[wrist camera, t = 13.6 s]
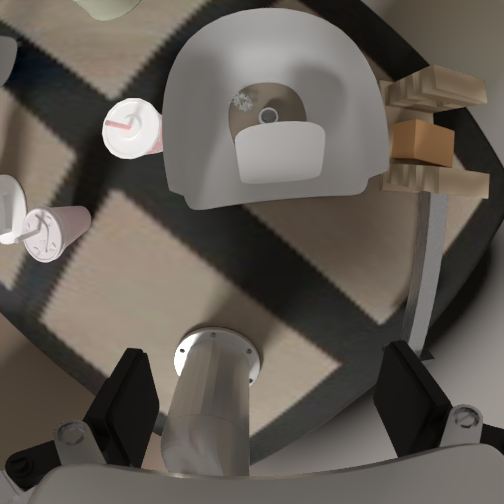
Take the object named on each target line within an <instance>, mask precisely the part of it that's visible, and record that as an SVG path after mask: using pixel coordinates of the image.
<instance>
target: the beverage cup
mask: <svg viewBox="0 0 504 504" xmlns="http://www.w3.org/2000/svg"><path fill="white" fill-rule="evenodd" d="M102 135H103V139H104V143H105V145H106V147H107V148H108V150H109V151H110V152H111V153H112V154H114V155H116V156H117V157H119V158H127V159H133V158H137V157H139V156H142V155H145V154H153V153H158V152H161V151H163V143H162V115H160V114H159V113H158V112H157V111H156V109H155V108H154V107H153V106H152V105H151V104H150V103H148V102H146V101H144V100H142V99H140V98H129V99H126V100H124V101H121V102H119V103H117V104H116V105H115V106H114V107H113V108H112V109H111V110H110V111H109V113H108V115H107V116H106V118H105V120H104V124H103V131H102Z"/></svg>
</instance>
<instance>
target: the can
mask: <svg viewBox="0 0 504 504" xmlns="http://www.w3.org/2000/svg"><path fill="white" fill-rule="evenodd" d="M74 1H75V2H77V3H78V4H79V5H80V6H81V7H83V8H84V9H85V10H86V11H87V12H89V14H90V15H91V16H92V17H93V18H95V19H97V20H102V21H107V20H112V19H116V18H118V17H121V16H123V15H125V14H126V13H128V12H129V11H131V10H132V9H133V8H134V7H135V6H136V5H137V4H138V3H139V2H140V1H141V0H74Z"/></svg>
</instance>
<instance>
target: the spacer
mask: <svg viewBox="0 0 504 504" xmlns="http://www.w3.org/2000/svg"><path fill="white" fill-rule="evenodd" d="M453 149H454V131H453V130H450V129H447V128H444V127H441V126H437V125H434V124H431V123H428V122H425V121H421V120H418V119H414V120H409V121H404V122H399V123H395V124H394V129H393V143H392V155H391V158H395V159H404V160H418V161H420V164H422V165H426V166H437V167H448V168H452V162H453Z"/></svg>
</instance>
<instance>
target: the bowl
mask: <svg viewBox="0 0 504 504" xmlns="http://www.w3.org/2000/svg"><path fill="white" fill-rule="evenodd" d="M262 82H273V83H280V84H283V85H286V86H288V87H290V88H291V89H293V90H294V91H295V92H296V93H297V94H298V95H299V97H300V98H301V100H302V102H303V105H304V107H305V111H306V116H307V122H301V121H285V122H278V119H279V115H278V112H277V111H276V110H275V109H274V108H271V107H266V108H264V109H262V110H261V111H260V113H259V116H258V118H259V121H260V123H261V124H260V125H255V126H251V127H248V128H246V129H244V130H242V131H240V132H239V133H238V135H237V136H236V139H235V144H234V142H233V140H232V137H231V133H230V129H229V123H228V113H229V107H230V104H231V102H236V101H239V100H240V99H241V100H243V99H242V97H243V96H244V97H243V98H244V99H245V98H248V96H249V95H248V96H247V97H245V94H244V95H242V94H243V92H242V94H241V96H240V94H239V91H240V90H241V89H243V88H245V87H247V86H249V85H252V84H256V83H262ZM237 93H238V97H237V95H236V94H237ZM235 95H236V96H235ZM234 96H235V97H236V98H235V97H234ZM239 96H240V97H241V98H239ZM233 98H234V99H235V100H234V101H232V99H233ZM237 99H238V100H237ZM250 99H251V98H250ZM250 99H249V100H250ZM245 100H246V101H247V100H248V99H245ZM246 101H245V103H243V102H244V101H243V102H242V104H243V105H244V104H245V108H247V107H248V108H250V106H252V105H253V104H252V103H251V102H252V100H251V101H248V102H246ZM240 102H241V101H239V104H240ZM249 102H250V104H252V105H250V104H248V103H249ZM236 103H237V106H238V102H236ZM236 103H235V105H236ZM246 103H247V104H248V106H247V107H246ZM235 105H234V106H235ZM249 105H250V106H249ZM240 107H241V108H242V105H241V104H240V106H239V108H240ZM243 108H244V107H243ZM243 108H242V109H243ZM245 108H244V109H245ZM248 108H247V109H248ZM244 109H243V110H244ZM247 109H246V110H247ZM251 109H254V108H251ZM240 110H241V109H240ZM246 110H245V111H246ZM249 111H250V109H249ZM250 112H251V111H250ZM162 143H163V155H164V163H165V169H166V176H167V181H168V185H169V190H170V191H173V192H175V193H178V194H181V195H183V196H184V197H185V200H186V203H187V204H188V206H189V207H190V208H192V209H194V210H204V209H211V208H216V207H222V206H229V205H236V204H244V203H252V202H260V201H270V200H280V199H291V198H304V197H319V196H348V195H357V194H360V193H362V192H363V191H364V190H365V188H366V186H367V183H368V179H369V178H371V177H373V176H376V175H378V174H381V173H383V172H386V171H388V170H389V136H388V128H387V120H386V114H385V109H384V105H383V100H382V96H381V93H380V90H379V87H378V84H377V81H376V78H375V76H374V74H373V72H372V70H371V68H370V66H369V64H368V62H367V60H366V58H365V57H364V55H363V54H362V52H361V51H360V50H359V48H358V47H357V45H356V44H355V43H354V42H353V41H352V40H351V39H350V38H349V37H348V36H347V35H346V34H345V33H344V32H343V31H342V30H341V29H339V28H337V27H336V26H334V25H333V24H331V23H329V22H328V21H326V20H324V19H322V18H319V17H316V16H314V15H311V14H308V13H305V12H301V11H296V10H290V9H284V8H259V9H252V10H245V11H240V12H237V13H234V14H230V15H227V16H224V17H221V18H220V19H218V20H216V21H214V22H212V23H210V24H208V25H206V26H204V27H203V28H202V29H201V30H199V31H198V32H197V33H196V34H195V35H193V36H192V37H191V38H190V39H189V40H188V41H187V42H186V44H185V45H184V47H183V48H182V49H181V51H180V52H179V54H178V55H177V57H176V59H175V62H174V64H173V66H172V68H171V71H170V73H169V77H168V81H167V85H166V89H165V93H164V101H163V110H162ZM235 145H236V146H235Z"/></svg>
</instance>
